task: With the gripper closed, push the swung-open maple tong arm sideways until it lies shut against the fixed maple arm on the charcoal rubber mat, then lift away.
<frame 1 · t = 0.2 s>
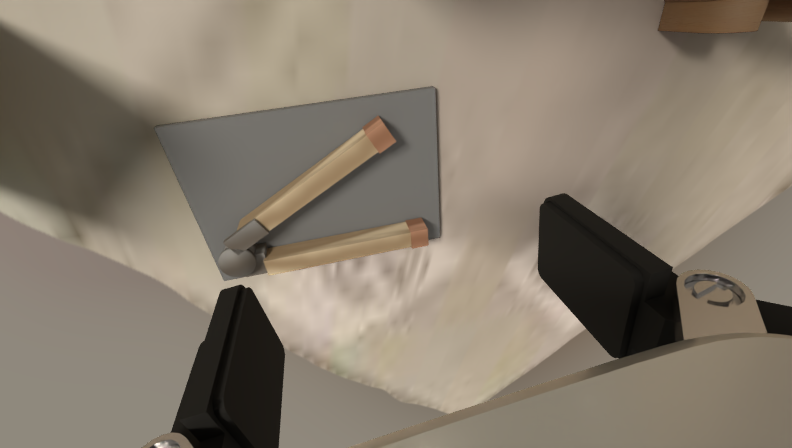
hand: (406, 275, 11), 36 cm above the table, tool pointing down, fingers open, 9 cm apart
tongs fixed: (242, 242, 49), resting on mat
mat: (320, 188, 47), on the table
tong arm: (304, 202, 45), point 3 cm above the table, hinge at 28.0°
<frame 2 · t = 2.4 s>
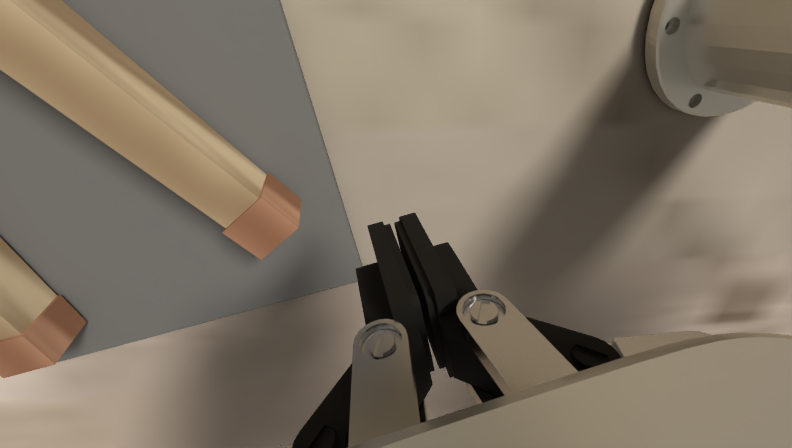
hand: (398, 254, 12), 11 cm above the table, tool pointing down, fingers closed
mat: (61, 77, 17), on the table
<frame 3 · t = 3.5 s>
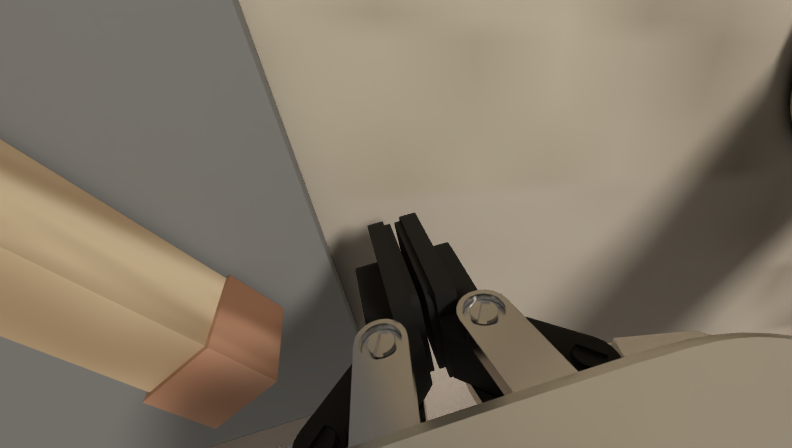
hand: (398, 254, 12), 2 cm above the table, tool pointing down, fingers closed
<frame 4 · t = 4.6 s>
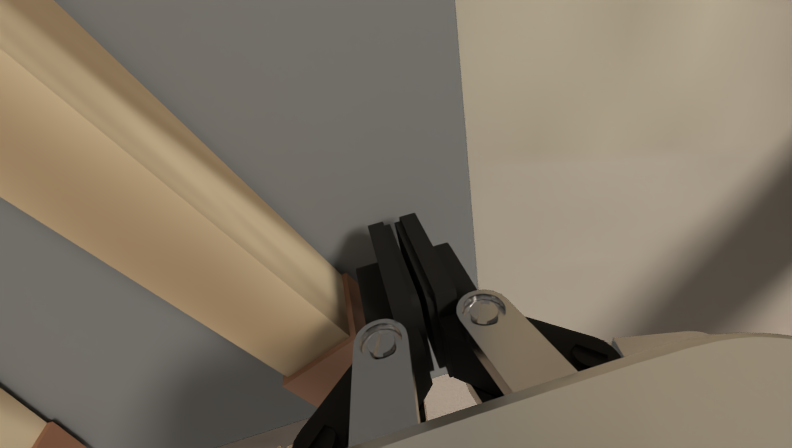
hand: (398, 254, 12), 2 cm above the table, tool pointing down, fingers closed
mat: (58, 86, 10), on the table
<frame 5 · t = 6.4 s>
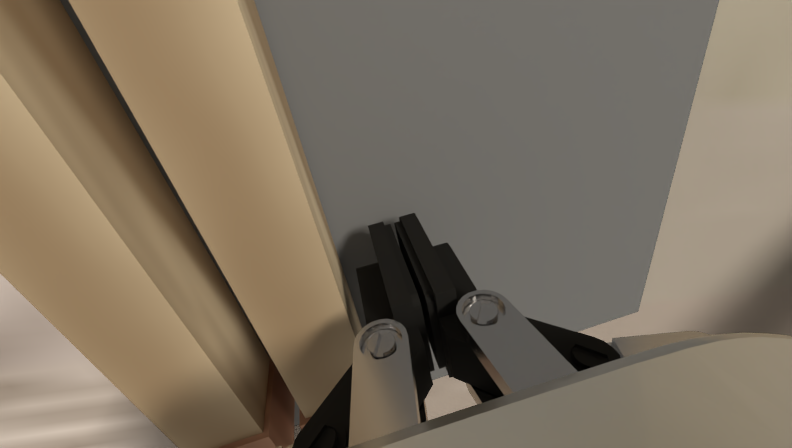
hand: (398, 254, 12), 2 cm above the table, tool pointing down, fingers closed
mat: (370, 10, 10), on the table
tong arm: (112, 38, 7), point 3 cm above the table, hinge at -0.5°, touching gripper
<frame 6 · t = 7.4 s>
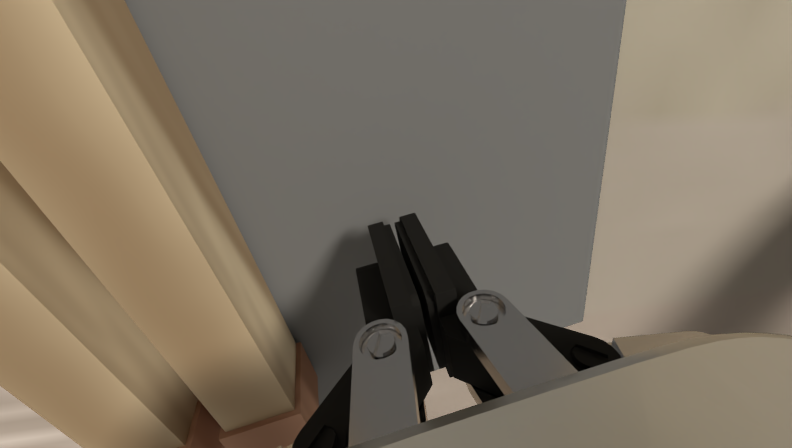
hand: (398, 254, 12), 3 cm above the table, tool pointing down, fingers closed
mat: (274, 41, 11), on the table
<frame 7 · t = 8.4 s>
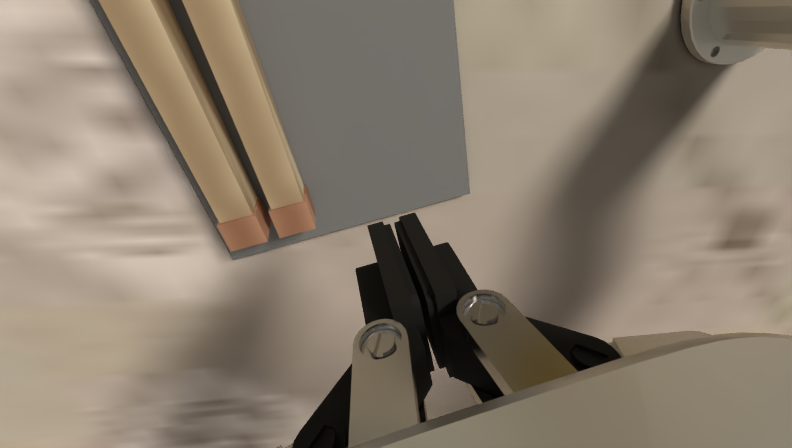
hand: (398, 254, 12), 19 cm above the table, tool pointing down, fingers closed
mat: (296, 26, 24), on the table
tong arm: (200, 38, 21), point 3 cm above the table, hinge at -0.6°
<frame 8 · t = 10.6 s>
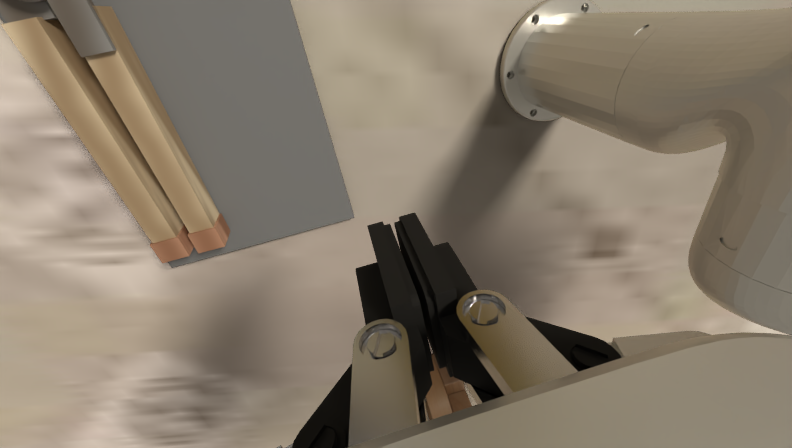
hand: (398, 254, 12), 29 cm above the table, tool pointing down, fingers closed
wooden toy: (436, 378, 65), on the table
mat: (203, 106, 35), on the table
tong arm: (129, 122, 31), point 3 cm above the table, hinge at -0.6°
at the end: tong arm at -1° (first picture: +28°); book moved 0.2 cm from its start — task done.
